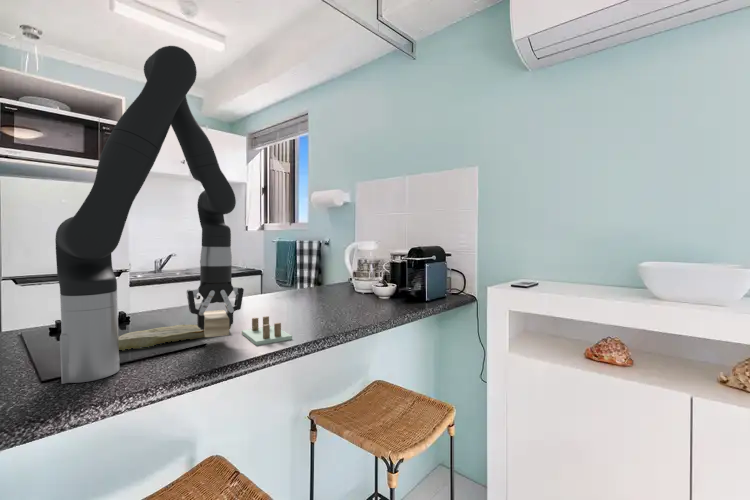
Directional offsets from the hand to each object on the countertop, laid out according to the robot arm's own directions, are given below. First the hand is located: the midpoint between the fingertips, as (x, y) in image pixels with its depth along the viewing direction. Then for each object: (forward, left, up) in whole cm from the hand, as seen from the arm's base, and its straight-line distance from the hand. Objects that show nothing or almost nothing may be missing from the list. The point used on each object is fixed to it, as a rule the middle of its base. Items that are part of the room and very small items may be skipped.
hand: (215, 327), depth 95 cm
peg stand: (+14, +1, -5) cm, 14 cm away
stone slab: (-8, +15, -5) cm, 18 cm away
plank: (0, 0, -1) cm, 1 cm away
